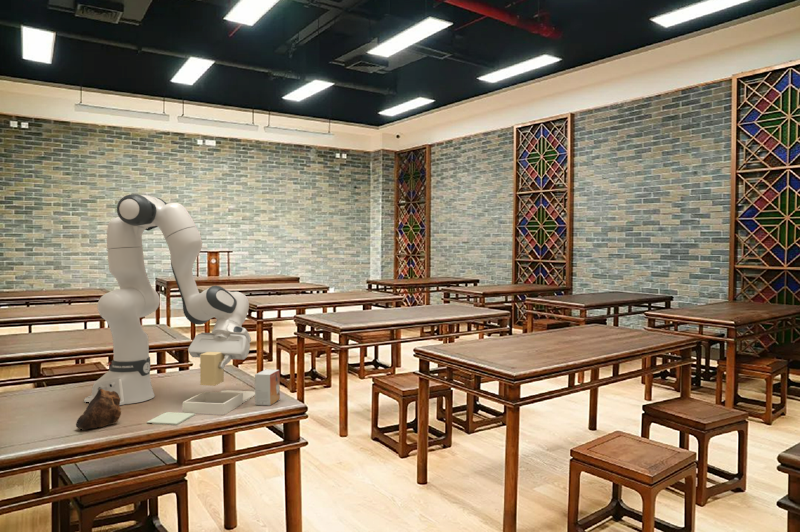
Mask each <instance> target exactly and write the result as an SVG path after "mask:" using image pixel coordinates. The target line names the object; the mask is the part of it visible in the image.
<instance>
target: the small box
mask: <svg viewBox="0 0 800 532" xmlns="http://www.w3.org/2000/svg"><path fill="white" fill-rule="evenodd" d="M280 379H281V377H280V369H270V368H269V369H267V368H264V370H262V371H259V372H258V373H255V374H254V391H255V396H254V399H255V401H254V402H255V403H254V404H255V405H256V406H272V405H273V404H274V403H276V402H278V401H280V400H281V395H280V393H281V392H280V389H281V387H280ZM279 399H280V400H279ZM277 400H278V401H277Z"/></svg>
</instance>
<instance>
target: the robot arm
mask: <svg viewBox="0 0 800 532" xmlns="http://www.w3.org/2000/svg"><path fill="white" fill-rule="evenodd" d="M116 212H117V213H116V214H117V216H116V217H113V218H111V220H110V221H109V222H108V224H107V232H106V248H107V258H108V259H107V260H108V269H109V273H110V274H111V275H112V276H113V277H114V278H115V279H116V281H117V284H118V286H119V288H118V289H114V290H110V291H109V292H106V293H104V294H103V295H101V296H100V298H99V300H98V302H97V305H96V306H97V311H98V313H99V316H100V317H101V318H102V319H103V320H104V321H105V322H106V323H107V325H108V327H109V331H110V333H111V336H112V337H111V338H112V344H113V345H112V346H113V359H112V360H111V361H108V362H106V366H107V367H109V370H108V371H107V372H106V373H104V374H103V375H101V377H100V378H98V379H97V380H96V381H94V383H93V386H92V388H91V394H90V395H88V396H86V397H85V398H84V400H83V403H86V402H89V403H90V402H91V400H92V399H94V397H95V396H96V394H97V392H98V390H99V389H103V390H105V391H110V392H112V391H115V392H117V393H118V395H119V397H120V404H119V406H123V405H130V404H136V403H142V402H146V401H148V400H152V399H153V398H155V396H156V395H155V392H154V390H153V384H152V379H151V357H150V353H149V352H150V351H149V349H150V347H149V343H150V342H149V335H148V333H147V331H144V329H143V326H142V324H141V320H140V318H145V317H147V316H149V315H151V314H152V313H155V311H157V310H158V308H159V307H160V304H161V297H160V296H159V293H158V291H156V290H155V289H154V288H153V286H152V284H151V282H150V279H149V277H148V275H147V272H146V268H145V267H146V265H145V258H144V249H143V233H144V231H151V230H154V229H156V228H158V229H160V231H161V233H162V235H163V238H164V240H165V242H166V244H167V247H168V249H169V255H170V266H171V267H170V268H171V271H172V274H173V277H174V279H175V283H176V285H177V288H178V291H179V295H180V298H181V301H182V310H183V311H182V312H183V314H184V316H185V318H186V319H187V320H188V321H189V322H190V323H191V324H193V325H204V324H206V323H207V322H209V321H210V320H212V319H213V318H215V319H216V321H215V324H214V326H213V329H212V330H211V332H200V333H198V334H196V335H195V336H194V338H193V340H192V341H191V343H190V345H189V346H188V348H187V351H188V354H189V355H190V356H191V357H192V358H199V359H200V354H203V353H206V352H222V354H224V360H223V361H222V362H219V365H218V368H219V369H225V367H226V365H228V364H229V363H230V362H231V360H245V359H246V358H248V356H249V352H250V348H251V344H250V343H251V341H252V338H251V335H250V333H249V332H248V330H247V328H245V327H242V326H243V324H244V323H245V321H246V319H247V316H248V313H249V309H250V302H249V301H250V300H249V298H248V296H246V295H245V294H244V293H242V292H239V291H229V290H227V289H225V288H224V287H223V286H220V285H212V286H210V287H208V288H206V289H204V290H203V291H201V292H200V291H199V288H198V285H197V283H196V280H195V277H194V273H193V268H194V264H195V262H196V260H197V257H198V256H199V254H200V252H201V250H202V247H203V240H202V237H201V233H200V231H199V229H198V227H197V225H196V223H195V221H194V219H193V218H192V216H191V215H190V213H189V211H188V210H187V209H186V207H185V206H184V205H183V204H181V203H180V202H169V203H167V202H166V201H165V200H163V199H162V198H159V197H156V196H152V195H148V194H138V193H130V194H127V195H125V196H123V197H121V198H120V199H119V201H118V203H117V206H116ZM89 403H88V404H89Z"/></svg>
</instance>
